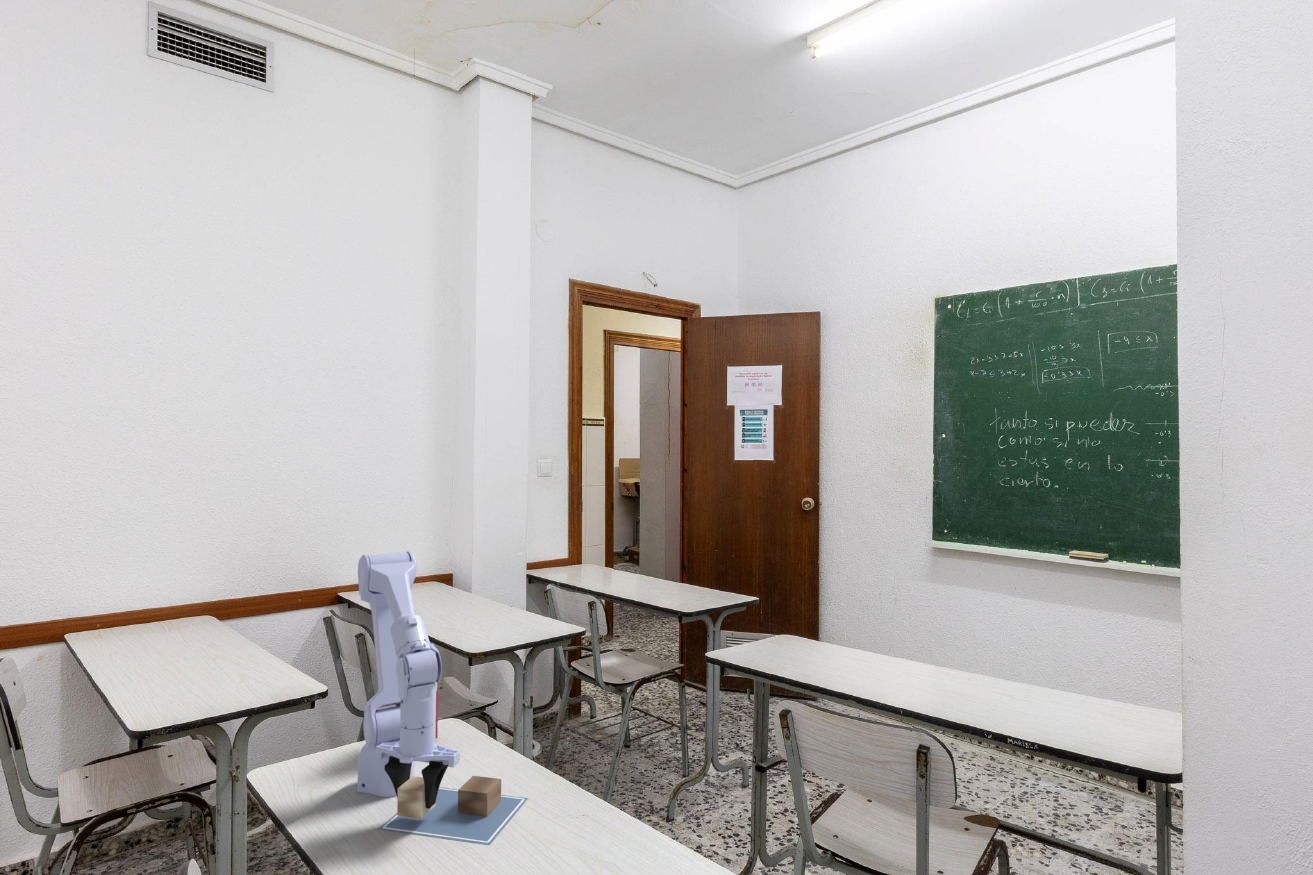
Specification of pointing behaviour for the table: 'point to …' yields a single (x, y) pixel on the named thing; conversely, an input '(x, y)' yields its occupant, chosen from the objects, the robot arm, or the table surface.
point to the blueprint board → (457, 820)
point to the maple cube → (412, 799)
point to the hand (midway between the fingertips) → (417, 803)
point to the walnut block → (479, 796)
